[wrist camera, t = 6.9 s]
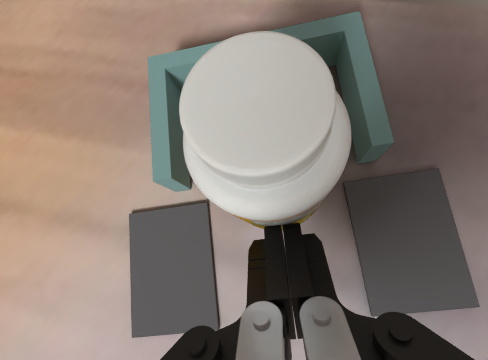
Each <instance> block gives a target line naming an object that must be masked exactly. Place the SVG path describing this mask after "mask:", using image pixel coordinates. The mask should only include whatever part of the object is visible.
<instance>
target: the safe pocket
mask: <svg viewBox="0 0 488 360" xmlns="http://www.w3.org/2000/svg"><path fill="white" fill-rule="evenodd" d="M270 31H271V32H279V33H283V34H286V35H289V36H292V37H295V38H297V39H299V40H301V41H303V42H304V43H306V44H308V45H309V46H310V47H311V48H312V49H314V50H315V51H316V52H317V53H318V54H319V55H320V56H321V57H322V59H323V60H324V62H325V63H326V65H327V66H328V67H330V66H335V65H336V70H337V74H338V79H339V83H340V87H341V92H342V96H343V101H344V104H345V107H346V109H347V112H348V115H349V119H350V124H351V136H352V141H353V145H354V149H355V154H356V158H357V163H365V162H371V161H376V160H377V159H378V158H379V157H380V156H381V155H382V154H383V153H384V152H385V151H386V150H387V149H388V148H389V147H390V146H391V145H392V144H393V143H394V139H393V135H392V131H391V127H390V124H389V120H388V116H387V112H386V109H385V105H384V101H383V97H382V93H381V90H380V86H379V82H378V78H377V74H376V71H375V67H374V63H373V59H372V55H371V52H370V48H369V44H368V40H367V36H366V33H365V29H364V25H363V21H362V18H361V14H360V11H357V12H353V13H348V14H343V15H339V16H334V17H330V18H325V19H321V20H316V21H311V22H307V23H302V24H298V25H293V26H289V27H284V28H279V29H275V30H270ZM220 42H222V41H220ZM220 42H215V43H211V44H206V45H202V46H197V47H193V48H188V49H183V50H179V51H174V52H170V53H165V54H161V55H156V56H151V57H148V75H149V98H150V121H151V144H152V167H153V181H154V182H156V183H158V184H160V185H162V186H164V187H167V188H169V189H171V190H173V191H175V192H177V191H183V190H190V189H191V184H190V173H189V170H188V168H187V165H186V162H185V157H184V151H183V133H184V132H183V129H182V126H181V122H180V115H179V103H180V95H181V91H182V88H183V85H184V82H185V80H186V78H187V76H188V74H189V72H190V71H191V69H192V68H193V66H194V65H195V64H196V62H197V61H198V60H199V59H200V58H201V57H202V56H203V55H204V54H205V53H206V52H207V51H208V50H210V49H211V48H213V47H214V46H215V45H217V44H219V43H220Z"/></svg>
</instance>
